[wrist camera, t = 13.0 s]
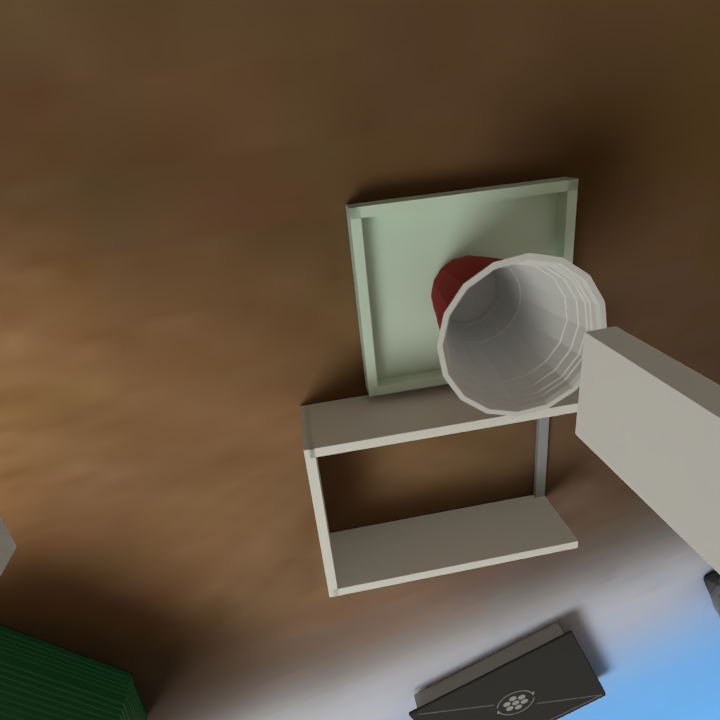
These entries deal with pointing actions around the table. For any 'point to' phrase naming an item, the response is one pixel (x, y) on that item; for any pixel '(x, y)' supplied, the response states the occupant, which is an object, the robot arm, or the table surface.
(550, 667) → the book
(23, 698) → the planter
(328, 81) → the table surface
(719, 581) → the juice carton
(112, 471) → the table surface
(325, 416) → the frame
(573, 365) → the plastic cup
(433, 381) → the tray
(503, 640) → the table surface
